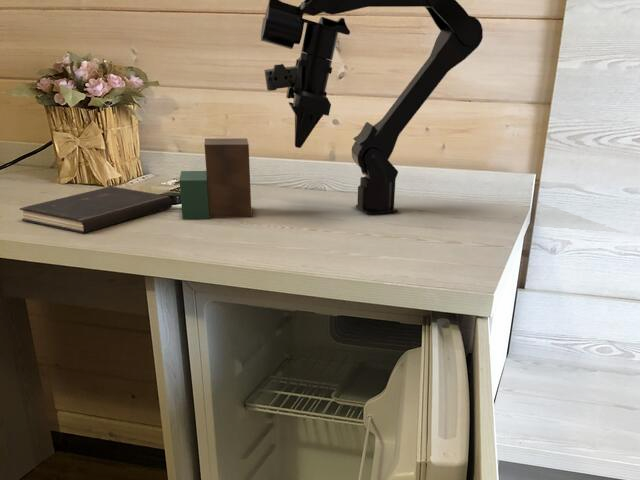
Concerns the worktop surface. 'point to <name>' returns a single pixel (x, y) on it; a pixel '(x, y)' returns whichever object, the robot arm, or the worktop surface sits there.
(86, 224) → the hardcover book
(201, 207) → the green block
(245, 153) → the walnut block
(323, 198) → the worktop surface
